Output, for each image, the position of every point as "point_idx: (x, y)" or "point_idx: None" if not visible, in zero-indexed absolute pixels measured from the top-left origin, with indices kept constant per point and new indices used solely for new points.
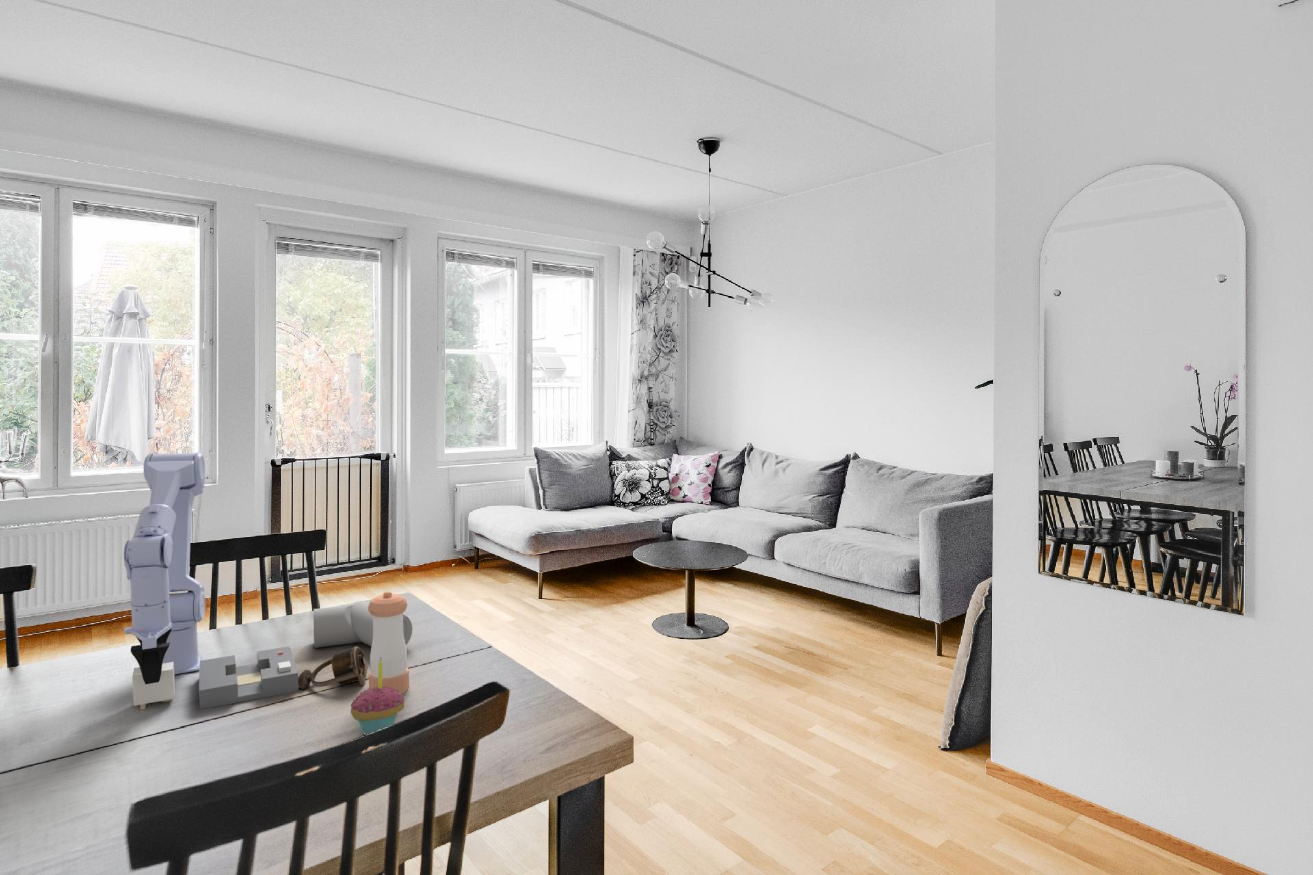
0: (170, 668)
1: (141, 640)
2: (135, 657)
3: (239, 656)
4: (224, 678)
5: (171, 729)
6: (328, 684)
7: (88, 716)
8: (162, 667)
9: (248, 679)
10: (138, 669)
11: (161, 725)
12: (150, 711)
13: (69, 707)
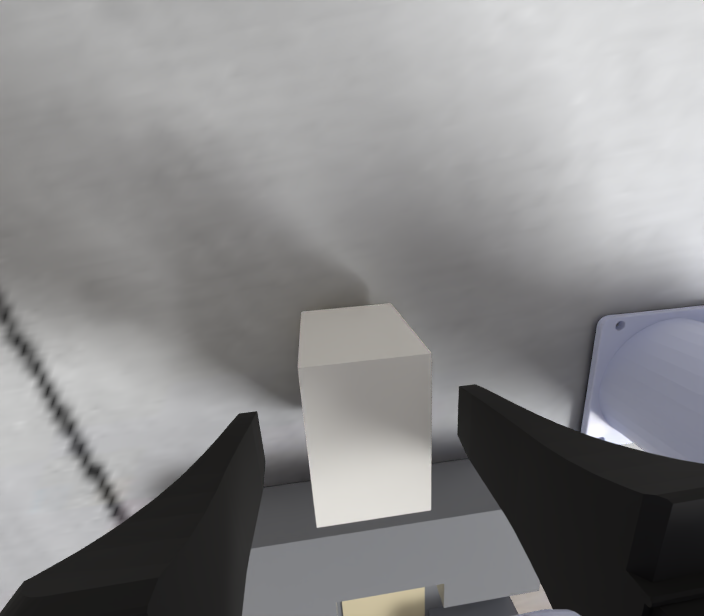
0: (331, 516)
1: (591, 489)
2: (76, 555)
3: None
4: (305, 603)
5: (79, 444)
6: None
7: (320, 148)
8: (366, 481)
9: (376, 596)
10: (394, 378)
11: (126, 410)
12: (274, 357)
13: (462, 49)
